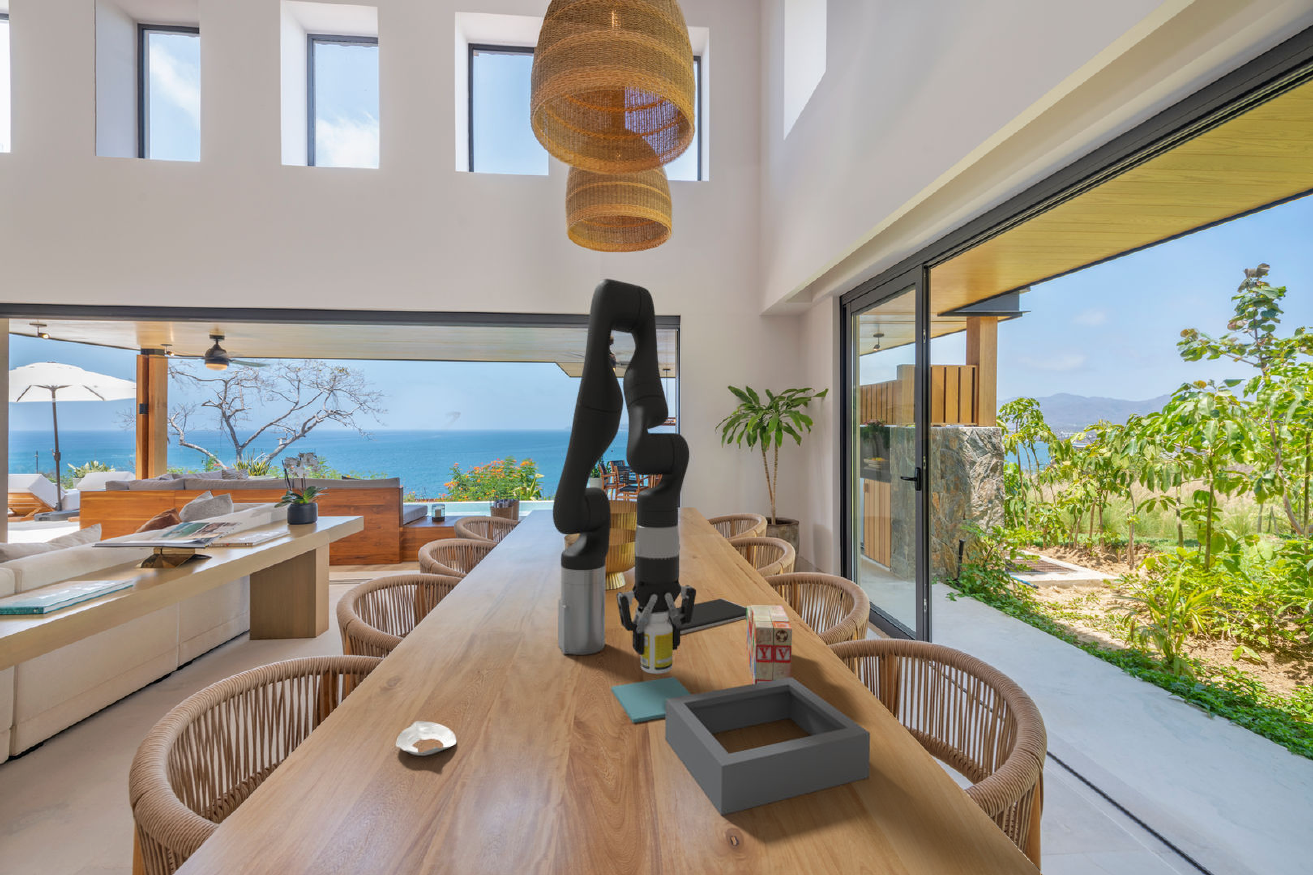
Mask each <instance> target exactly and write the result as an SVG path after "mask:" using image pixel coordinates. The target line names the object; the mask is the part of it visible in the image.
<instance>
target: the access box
mask: <svg viewBox="0 0 1313 875" xmlns="http://www.w3.org/2000/svg"><path fill="white" fill-rule="evenodd" d="M664 718H665V719H664V720H665V727H664V728H665V729H664V730H665V732H664V733H665V734H664V735H665V736H664V738H665V741H666V742H667V744H668V745H669V746H670V747H671V750H673V752H674V754H676V756H677V757H678V758H680V759H679V760H680V761H681V763H682V762H683V763H682V764H683V765H684V767H685V768H686V770H687V771H688V773H689V774H690V775H691V776H692V778H693V779H694V780H695V782H696V783H697V784H698V786H699V787H700V789H701V790H702V791H703V793H704V794H705V796H706V797H707V798H708V800H710V802H711V803H712V805H713V807H714V808H715V809H716V811H718V813H719V814H720V816H724V815H728V814H729V815H730V814H733V813H737V812H739V811H744V810H747V809H752V808H757V807H760V806H764V805H767V804H771V803H774V802H779V801H783V800H787V799H790V798H794V797H799V796H802V795H806V794H809V793H815V792H817V791H821V790H825V789H829V788H833V787H837V786H841V785H845V784H849V783H853V782H857V781H860V780H865V779H868V778H870V755H871V754H870V748H871V746H870V743H871V732H870V731H868V730H867V729H865V728H864V727H862V726H861V724H858V723H857V722H856V721H854V720H853V719H851V718H850V717H848V716H847V715H846V714H844V713H843V712H841V711H840V710H839V709H837V708H836V707H834V706H833V705H832V704H830V703H829V702H827V700H825V699H823V698H821V697H820V696H819V695H817V694H816V693H814V691H812V690H810V689H809V688H807V687H806V686H804V685H803V684H802V683H801V682H799V681H798V680H796V679H795V678H794V677H791V678H786V679H780V680H774V681H768V682H762V683H756V684H753V683H751V684H746V685H740V686H734V687H728V688H727V687H726V688H723V689H717V690H710V691H706V692H700V693H693V694H692V693H691V695H686V696H680V697H675V698H669V699H666V717H664ZM782 719H783V720H786V719H787V720H788V719H790V720H791V721H792V722H794V723H795V724H796V725H797V726H798V727H800V728H801V729H802V730H803V731H804V732H806V733H807V734H808V735H809V736H806V737H800V738H796V739H790V740H786V741H782V742H777V743H772V744H769V745H763V746H759V747H754V748H749V749H744V750H741V751H735V752H731V753H729V752H728V751H727V750H726V749H725V747H723V745H721V743H720V742H719V741H718V740H717V739H716V738H715V736H713V734H717V732H718V733H722V732H727V731H731V730H737V729H741V728H747V727H752V725H753V726H756V725H757V724H758V725H762V724H761V723H763V724H767V723H772V722H776V721H783V720H782Z"/></svg>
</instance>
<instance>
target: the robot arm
mask: <svg viewBox="0 0 1313 875" xmlns="http://www.w3.org/2000/svg"><path fill="white" fill-rule="evenodd" d="M656 324H657V323H656V311H655V305H654V300H653V297H652V294H651V293H650V291H649V289H648V288H645V287H643V286H641V285H637V284H633V283H629V282H624V281H620V280H616V279H611V278H603V279H602V280H600V281H599V282H598V283H597V285H596V287H595V288H594V291H593V294H592V298H591V304H590V310H589V317H588V326H587V327H588V328H587V335H586V336H587V337H586V345H585V346H586V347H585V354H584V363H583V368H582V373H581V377H580V378H581V379H580V384H579V389H578V392H577V397H576V403H575V408H574V413H573V419H572V427H571V432H570V438H569V442H568V446H567V452H566V456H565V457H566V458H565V460H564V465H563V468H562V471H561V474H560V478H559V482H558V484H557V489H556V492H555V494H554V499H553V505H552V520H553V524H554V527H555V528H556V531H557V532H559V533H560V534H561V535H562V534H563V535H567V536H568V535H577V534H578V537H577V539H576V540H575V541H574V542H573V543H572V544H571V545H569V546H568V547H567V548H565V549H564V550H562V552H561V554H560V555H561V556H560V598H559V599H558V601H557V602H558V605H557V606H558V610H557V613H558V614H557V624H558V625H557V626H558V627H557V645H558V647H559V648H560V651H562V654H563V655H580V656H583V655H591V654H596V653H598V652H599V653H600V652H601V651H603V649H604V648H605V646H606V644H605V643H606V642H605V641H606V634H605V633H606V560H607V555H608V552H609V549H610V548H609V547H610V536H611V535H610V534H611V522H612V521H611V520H612V519H611V515H612V512H611V511H612V510H611V502H610V499H609V497H608V494H607V493H606V492H605V490H603V489H602V488H599V487H593V486H592V487H588V482H589V479H590V476H591V474H592V472H593V470H594V468H595V466H596V465H597V463H598V462H599V461H600V459H601V458H602V457H603V456H604V454H605V453H606V452H607V450H608V449H609V447H611V445H612V443H613V442H614V440H615V439H616V436H617V434H618V432H619V428H620V423H621V419H622V413H623V408H624V400H625V405H626V409H627V410H626V412H627V415H628V432H627V434H628V435H627V443H626V444H627V445H626V454H625V455H626V456H625V457H626V463H627V466H629V468H630V469H631V471H632V473H634V474H636V475H639V476H654V475H655V476H657V475H659V476H661V478H660V480H659V482H658V483H657V485H655V486H652V487H649V488H646V489H643V490H641V491H640V492H638V494H637V495H636V496H637V497H636V529H635V535H634V585H633V587H632V590H630V591H625V592H621V591H619V592H617V593H616V597H615V598H616V601H617V602H616V603H617V607H618V608H617V609H618V612H619V616H620V624H621V626H622V627H623V628H624V629H625V630H626V631H628V632H630V631H632V648H633V650H634V651H635V652H636V653H637V654H638V655H639V656H641V655H643V654H644V633H643V632H642V631H643V629H644V626H645V623H646V621H648V619H649V617H650V614H651V613H656V612H658V611H660V612H665V611H667V610H668V611H669V621H670V623H671V625H672V628H673V651H676V650H678V647H679V646H680V644H681V634H680V628H681V626H682V625H683V624H685V623H690V622H691V618H692V613H693V607H694V604H695V603H696V602H695V601H696V596H697V589H695V588H694V587H693V586H691V585H689V584H686V585H681V584H680V550H681V544H680V532H679V530H680V529H679V500H680V496H681V491H682V487H683V483H684V479H685V476H686V473H687V470H688V465H689V461H690V447H689V444H688V442H687V440H686V439H685V437H684V436H683V435H682V434H680V433H675V432H649V430H651V429H654V428H656V427H657V428H658V427H660V426H661V425H663V424H664V423H666V422H667V420H668V418H669V408H668V406H669V405H668V404H667V399H666V396H665V395H666V394H665V391H664V387H663V383H662V378H661V372H660V367H659V356H658V355H659V353H658V339H657V336H658V334H657V325H656ZM612 331H615V332H620V333H624V334H630V335H631V336H632V338H633V341H634V346H635V347H634V351H633V354H632V355H631V356H632V357H631V358H630V360H629V363H628V365H627V366H626V367H627V368H626V369H625V372H624V374H623V378H622V380H623V381H622V388H621V385H620V383H619V382H620V381H619V379H618V377H617V375H616V372H615V370H614V367H613V363H612V359H611V358H612V357H611V336H612ZM622 389H623V391H622ZM679 596H680V597H681V604H680V607H681V609H680V614H679V615H678V611H677V609H676V608H677V607H676V605H675V602H676V601H677V599H678V597H679ZM633 599H635V600H636V602H637V603H638V604H637V606H636V609H635V611H634V617H633V620H632V614H631V608H630V607H631V605H632V603H633Z"/></svg>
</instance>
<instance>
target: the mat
mask: <svg viewBox="0 0 1313 875" xmlns="http://www.w3.org/2000/svg"><path fill="white" fill-rule="evenodd" d="M610 688H611V690H610V691H611V692H612V693H613V695H614V696H615V699H616V700H617V701H618V702H619V705H621V707H622V708H623V710H624V712H625V713H626V715H627V716H628V717H629V719H630V720H631V722H632V723H633V724H635V723H640V722H646V721H651V719H653V720H657V719H658V720H659V719H662V718H663V717H664V718H666V699H669V698H675V697H680V696H686V695H692V693H690V692H689V691H688V689H687V688H686V687H685V686H684V685H683V684H682V683H681V682H680V680H678V679H677V678H676V677H675V676H671V677H664V678H657V679H652V680H645V681H638V682H633V683H626V684H619V685H613V686H611V687H610Z"/></svg>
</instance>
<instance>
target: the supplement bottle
mask: <svg viewBox="0 0 1313 875" xmlns="http://www.w3.org/2000/svg"><path fill="white" fill-rule="evenodd" d="M668 618H669V611H668V610H667V611H665V612H660V611H658V612H656V613H651V614H650V617H649V619H648V621H646V623H645V626H644V629H643V631H642V632H643V633H644V654H643V655H640V669H641V670H642V671H643V672H645V673H648V674H654V675H655V674H666V673H668V672H670V671H671V670H672V669H673V660H674V659H673V656H674V655H673V654H674V653H673V652H674V650H673V628H672V625H671V623H670V622H668V621H667V620H668Z"/></svg>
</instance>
